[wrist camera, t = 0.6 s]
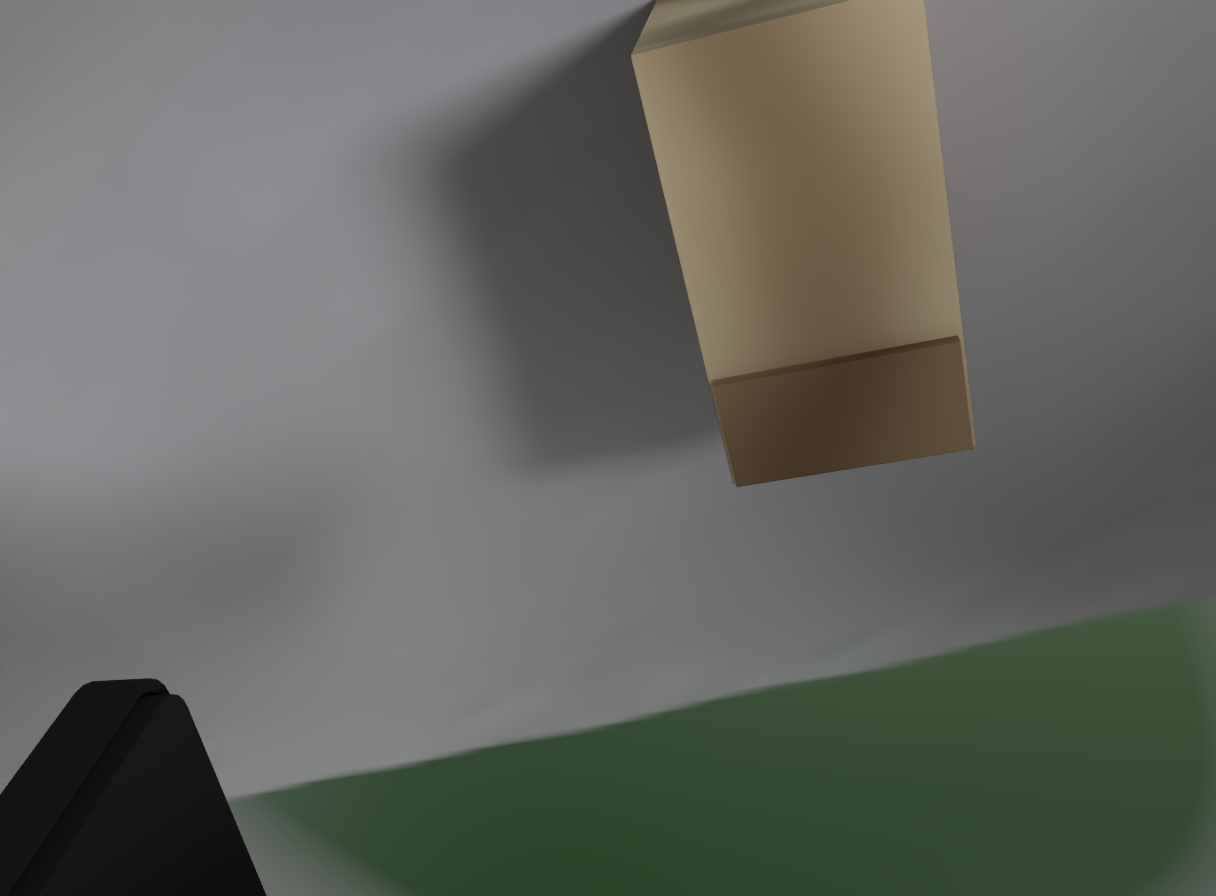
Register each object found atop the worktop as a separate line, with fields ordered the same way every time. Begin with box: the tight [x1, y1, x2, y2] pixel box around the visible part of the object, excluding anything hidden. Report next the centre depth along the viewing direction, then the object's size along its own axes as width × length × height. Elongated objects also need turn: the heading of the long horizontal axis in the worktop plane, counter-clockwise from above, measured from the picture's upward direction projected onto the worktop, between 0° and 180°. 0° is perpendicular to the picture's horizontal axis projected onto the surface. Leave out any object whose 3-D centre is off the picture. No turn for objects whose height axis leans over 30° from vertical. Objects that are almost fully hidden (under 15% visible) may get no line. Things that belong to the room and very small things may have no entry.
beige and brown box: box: [631, 0, 976, 487], centre depth 24 cm, size 5×9×7 cm, turn 15°
